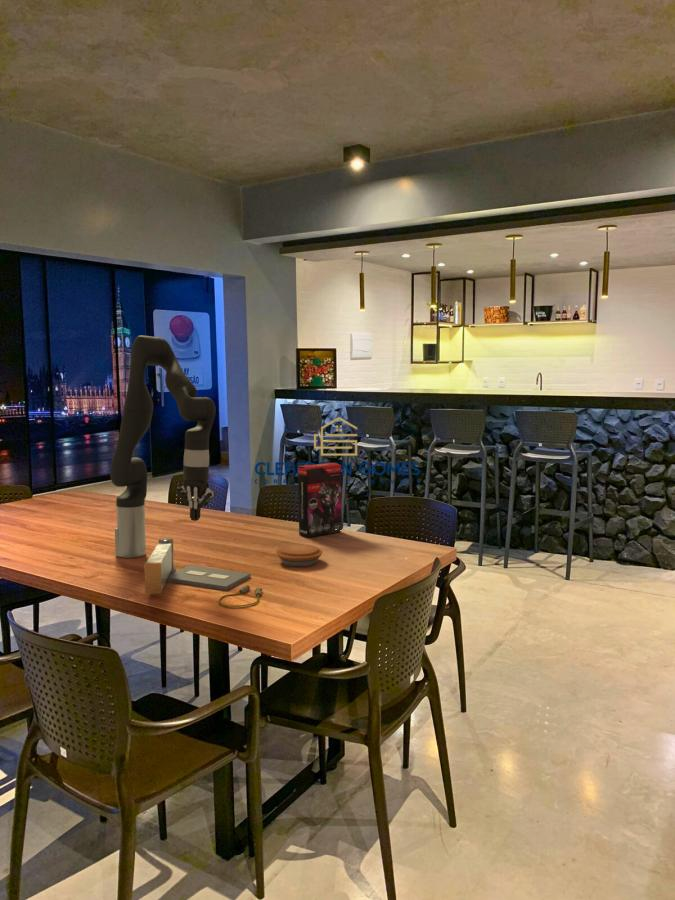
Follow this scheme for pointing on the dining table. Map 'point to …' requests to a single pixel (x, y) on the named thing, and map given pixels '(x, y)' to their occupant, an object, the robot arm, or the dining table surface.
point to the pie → (299, 555)
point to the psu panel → (207, 577)
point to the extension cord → (243, 590)
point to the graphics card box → (319, 499)
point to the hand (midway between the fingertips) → (195, 520)
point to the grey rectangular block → (159, 566)
